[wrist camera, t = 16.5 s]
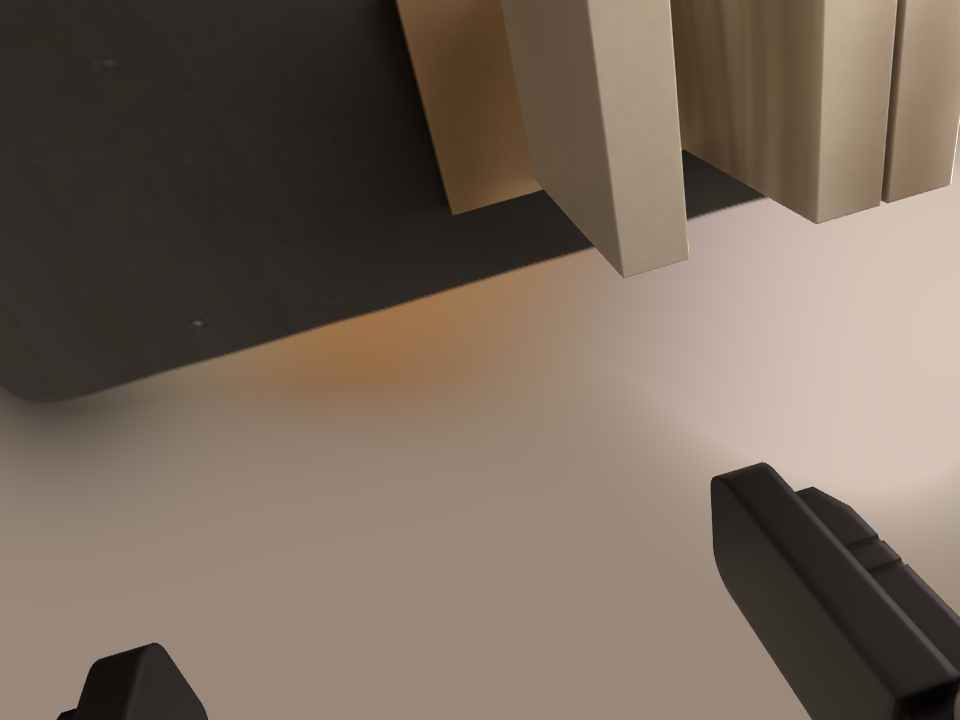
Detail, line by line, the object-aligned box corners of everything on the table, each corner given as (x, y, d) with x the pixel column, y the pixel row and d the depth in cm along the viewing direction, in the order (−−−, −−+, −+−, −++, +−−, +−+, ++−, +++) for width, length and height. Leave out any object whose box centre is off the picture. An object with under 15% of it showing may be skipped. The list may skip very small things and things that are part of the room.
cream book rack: (448, 208, 35) (505, 330, 24) (391, -13, 30) (429, 11, 19) (788, 110, 36) (997, 184, 25) (790, -122, 31) (1058, -161, 19)
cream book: (534, 179, 34) (623, 279, 24) (494, -28, 29) (584, -14, 19) (581, 166, 34) (690, 259, 24) (549, -43, 29) (668, -38, 19)
